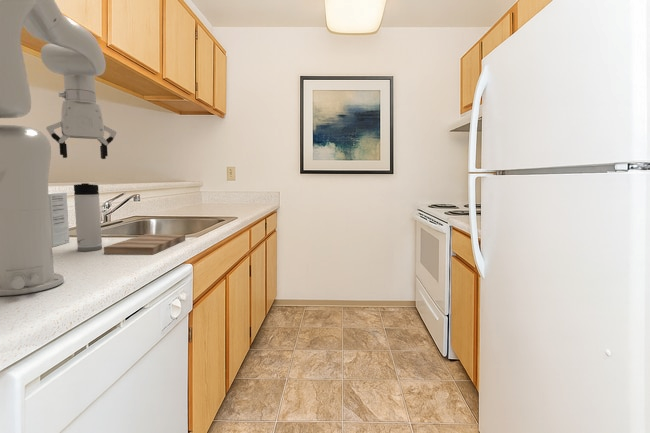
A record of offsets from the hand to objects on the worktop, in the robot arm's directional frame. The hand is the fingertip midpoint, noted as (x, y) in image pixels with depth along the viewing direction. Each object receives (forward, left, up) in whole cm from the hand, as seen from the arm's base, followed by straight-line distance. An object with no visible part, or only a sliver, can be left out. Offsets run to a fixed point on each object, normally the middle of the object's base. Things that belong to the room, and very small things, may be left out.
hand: (84, 158), depth 110 cm
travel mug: (0, 0, -28) cm, 28 cm away
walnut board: (-6, -15, -27) cm, 32 cm away
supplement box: (+18, +9, -28) cm, 34 cm away
